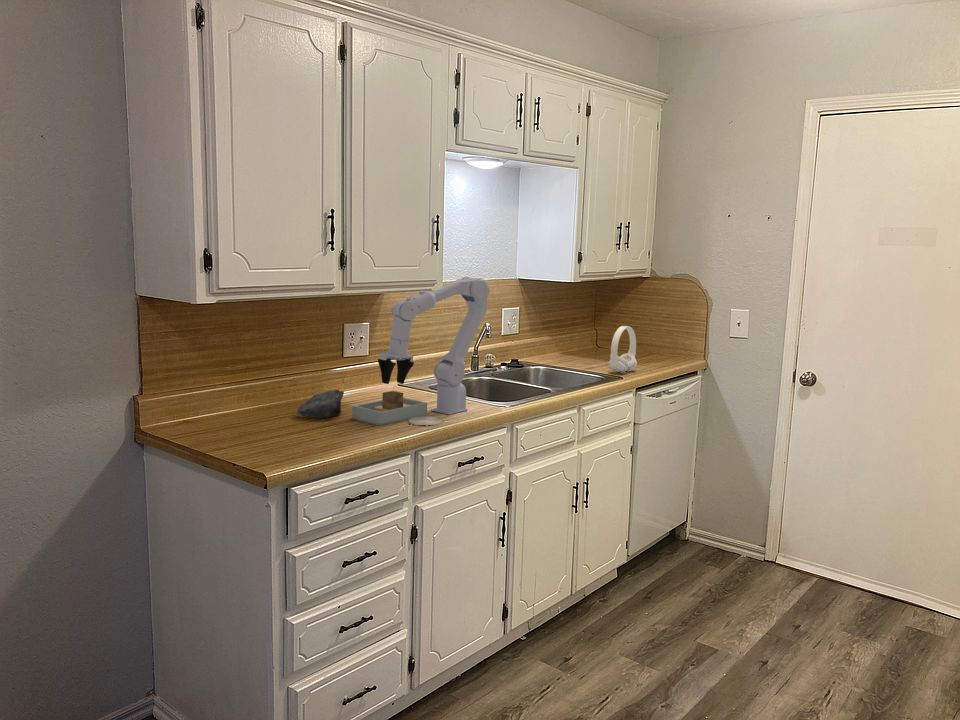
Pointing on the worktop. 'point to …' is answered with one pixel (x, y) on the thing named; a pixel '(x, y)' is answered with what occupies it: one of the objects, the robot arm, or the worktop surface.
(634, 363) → the headphones
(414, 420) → the coaster
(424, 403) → the caddy
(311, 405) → the rock
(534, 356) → the worktop surface
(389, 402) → the block
